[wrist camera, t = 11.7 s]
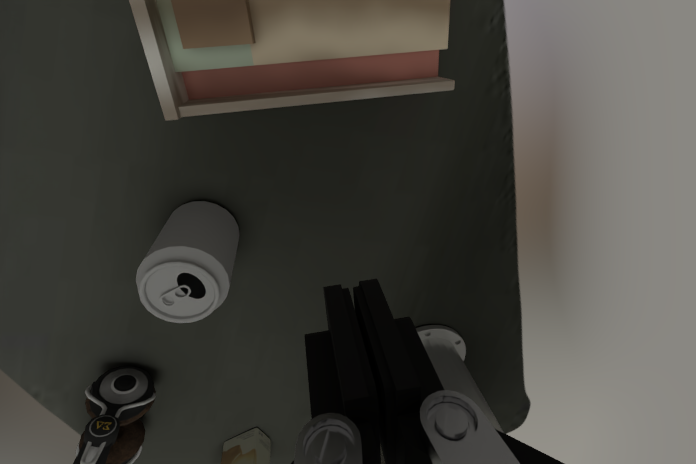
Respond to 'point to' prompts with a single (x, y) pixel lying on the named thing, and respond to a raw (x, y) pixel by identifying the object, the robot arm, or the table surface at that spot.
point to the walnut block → (213, 22)
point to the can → (189, 263)
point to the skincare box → (247, 449)
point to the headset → (116, 416)
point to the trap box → (298, 55)
